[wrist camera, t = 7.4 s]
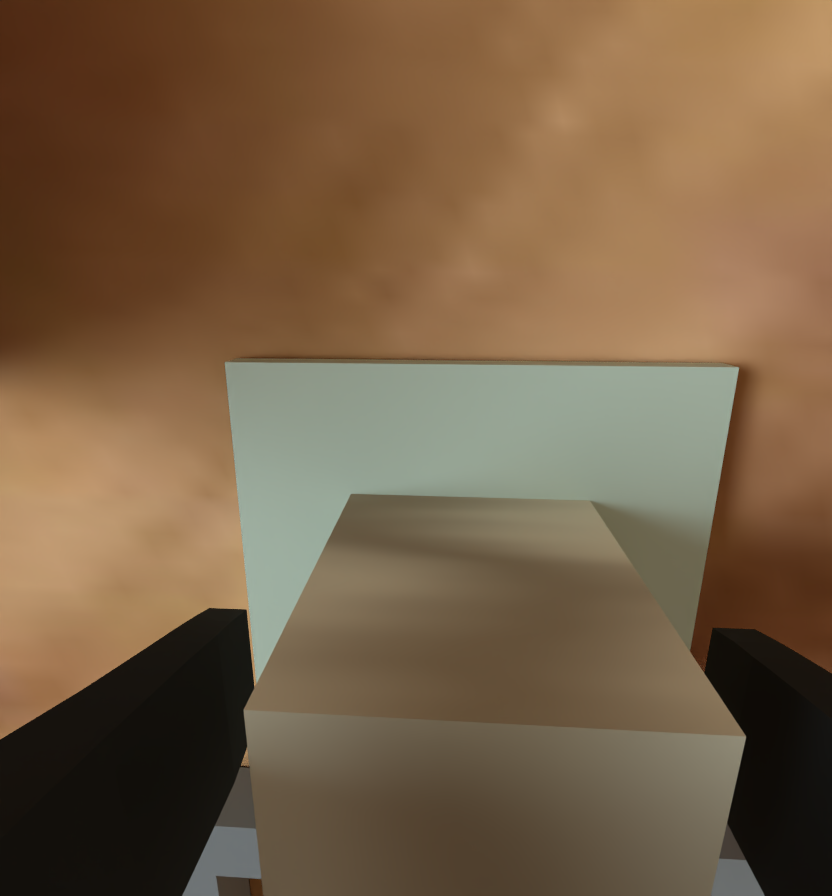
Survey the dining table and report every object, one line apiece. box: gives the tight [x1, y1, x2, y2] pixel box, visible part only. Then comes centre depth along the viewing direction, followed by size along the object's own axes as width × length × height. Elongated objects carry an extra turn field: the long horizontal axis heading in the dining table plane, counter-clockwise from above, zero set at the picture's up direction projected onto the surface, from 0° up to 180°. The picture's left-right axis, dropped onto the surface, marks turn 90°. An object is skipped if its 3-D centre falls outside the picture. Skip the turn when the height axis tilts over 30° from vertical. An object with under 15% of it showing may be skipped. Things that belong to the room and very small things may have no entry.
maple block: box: [244, 494, 746, 896], centre depth 8 cm, size 4×4×6 cm
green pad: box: [225, 358, 739, 683], centre depth 11 cm, size 9×9×1 cm
